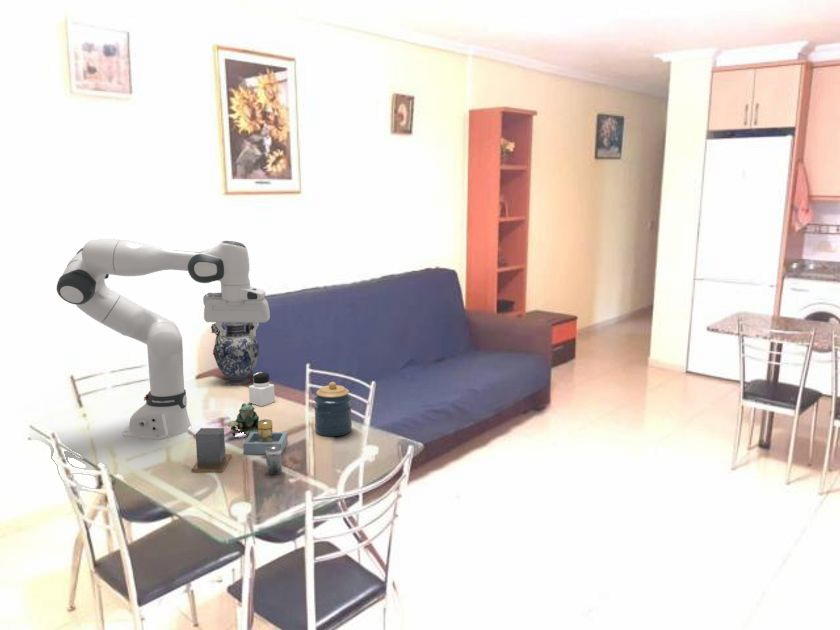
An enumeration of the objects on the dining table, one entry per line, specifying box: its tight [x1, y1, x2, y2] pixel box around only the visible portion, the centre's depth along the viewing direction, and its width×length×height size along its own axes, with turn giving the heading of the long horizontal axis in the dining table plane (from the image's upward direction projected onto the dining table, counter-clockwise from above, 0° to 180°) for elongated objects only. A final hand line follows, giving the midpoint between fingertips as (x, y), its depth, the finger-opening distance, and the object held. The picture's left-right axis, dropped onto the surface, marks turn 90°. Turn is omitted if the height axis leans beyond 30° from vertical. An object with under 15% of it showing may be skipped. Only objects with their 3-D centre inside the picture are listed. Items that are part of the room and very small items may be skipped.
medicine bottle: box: [248, 371, 276, 407], centre depth 250 cm, size 7×7×12 cm
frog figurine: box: [226, 401, 260, 436], centre depth 218 cm, size 18×18×12 cm
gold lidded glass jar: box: [258, 418, 273, 442], centre depth 206 cm, size 5×5×8 cm
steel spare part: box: [265, 444, 283, 476], centre depth 188 cm, size 5×5×8 cm
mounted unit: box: [190, 427, 233, 473], centre depth 193 cm, size 9×11×11 cm
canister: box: [313, 381, 353, 437], centre depth 221 cm, size 13×13×18 cm
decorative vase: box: [210, 322, 260, 386], centre depth 275 cm, size 21×19×28 cm
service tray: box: [242, 431, 289, 455], centre depth 206 cm, size 12×10×4 cm
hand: (238, 335), depth 202 cm, fingers open, 8 cm apart
